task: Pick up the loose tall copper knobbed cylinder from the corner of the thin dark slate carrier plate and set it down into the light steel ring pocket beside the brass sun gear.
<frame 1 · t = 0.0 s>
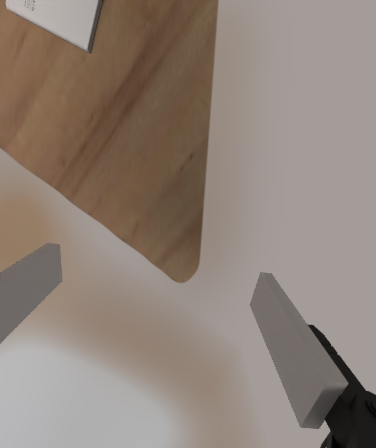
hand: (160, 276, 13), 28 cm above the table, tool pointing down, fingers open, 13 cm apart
external hard drive: (60, 5, 30), on the table
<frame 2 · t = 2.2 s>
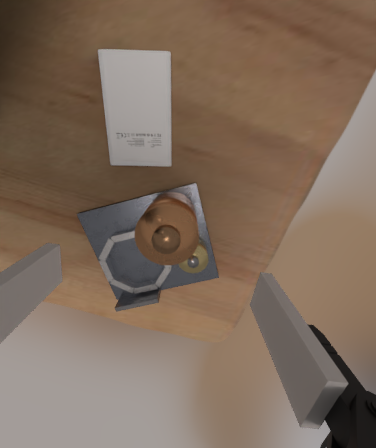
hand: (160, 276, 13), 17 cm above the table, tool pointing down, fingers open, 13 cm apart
copper knobbed cylinder: (172, 215, 29), resting on carrier
carrier: (152, 246, 31), on the table
external hard drive: (140, 115, 25), on the table
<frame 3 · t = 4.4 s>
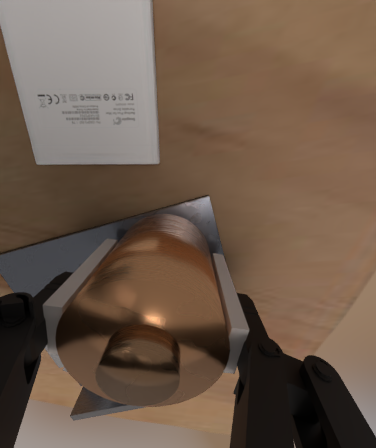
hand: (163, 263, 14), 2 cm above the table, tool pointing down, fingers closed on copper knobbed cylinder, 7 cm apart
copper knobbed cylinder: (165, 256, 15), resting on carrier, touching gripper
carrier: (133, 305, 18), on the table
external hard drive: (91, 60, 12), on the table
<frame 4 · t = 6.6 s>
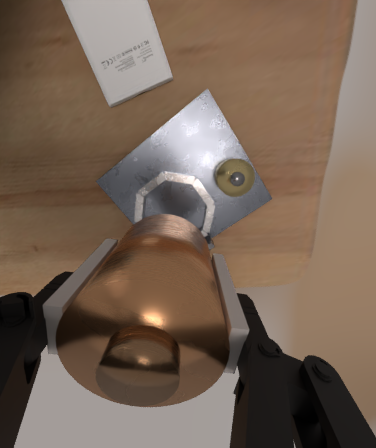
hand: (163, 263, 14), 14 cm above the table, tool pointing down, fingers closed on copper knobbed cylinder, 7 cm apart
copper knobbed cylinder: (165, 256, 15), point 13 cm above the table, touching gripper
carrier: (185, 189, 27), on the table
external hard drive: (119, 35, 22), on the table
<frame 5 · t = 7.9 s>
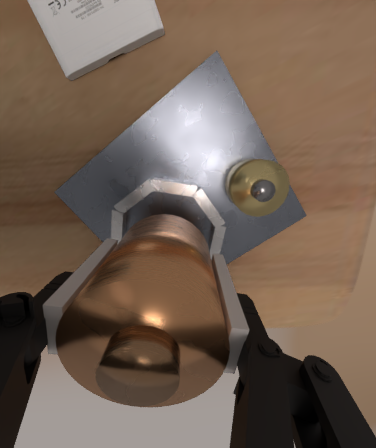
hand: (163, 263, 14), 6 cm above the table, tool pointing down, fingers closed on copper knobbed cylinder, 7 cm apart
copper knobbed cylinder: (165, 256, 15), point 5 cm above the table, touching gripper
carrier: (183, 202, 19), on the table
when the fingers open (3 cm above the table, at t = 8.9 s): copper knobbed cylinder drops 1 cm, resting on carrier.
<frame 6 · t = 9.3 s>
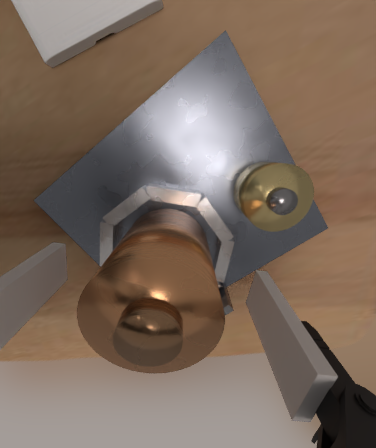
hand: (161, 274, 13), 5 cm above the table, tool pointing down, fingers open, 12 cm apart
copper knobbed cylinder: (167, 247, 17), point 1 cm above the table, touching carrier
carrier: (184, 212, 16), on the table
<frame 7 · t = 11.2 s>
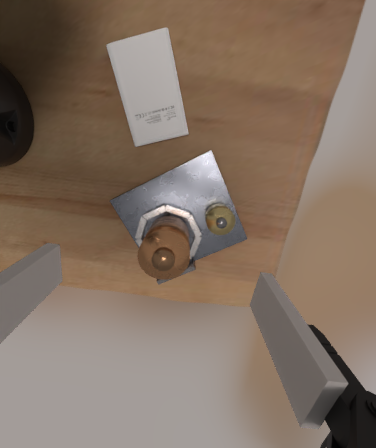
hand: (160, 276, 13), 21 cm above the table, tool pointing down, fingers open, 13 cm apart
copper knobbed cylinder: (169, 235, 34), point 1 cm above the table, touching carrier
carrier: (180, 219, 33), on the table
external hard drive: (151, 95, 28), on the table
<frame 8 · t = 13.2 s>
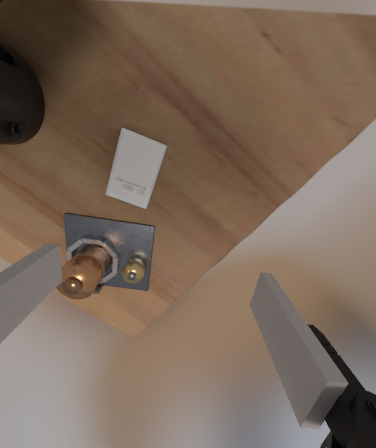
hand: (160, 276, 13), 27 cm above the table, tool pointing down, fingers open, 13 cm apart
copper knobbed cylinder: (94, 259, 42), point 1 cm above the table, touching carrier
carrier: (109, 254, 42), on the table
external hard drive: (136, 170, 37), on the table
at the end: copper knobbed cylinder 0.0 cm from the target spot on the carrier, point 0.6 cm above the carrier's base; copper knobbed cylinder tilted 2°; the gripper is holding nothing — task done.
